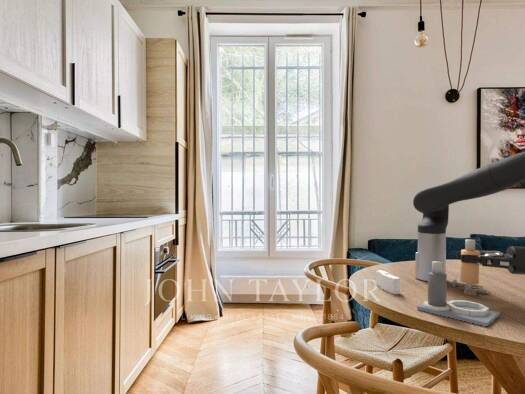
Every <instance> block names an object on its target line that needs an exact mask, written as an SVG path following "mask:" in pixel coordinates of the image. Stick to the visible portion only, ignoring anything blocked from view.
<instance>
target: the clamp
mask: <svg viewBox="0 0 525 394" xmlns="http://www.w3.org/2000/svg"><path fill="white" fill-rule="evenodd" d="M451 286H452V287H456V286H462V287H463V286H464V287H463V294H464V295H467V296H475V297H477V295H478V294H477V293H479V294H483V295H488V290H487V289H483V285H479V284H467V283H463V282H457V279H455V278H454V279H453V281H451ZM477 288H480V289H477Z"/></svg>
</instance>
